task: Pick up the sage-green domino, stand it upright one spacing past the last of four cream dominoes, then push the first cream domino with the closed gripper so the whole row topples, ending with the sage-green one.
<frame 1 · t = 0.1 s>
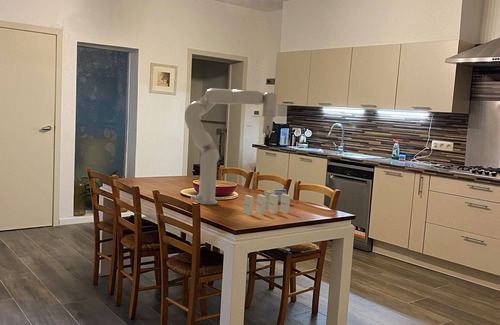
hand: (266, 144, 281), 37 cm above the table, tool pointing down, fingers open, 9 cm apart
medicine box: (278, 203, 304), on the table
domino 5: (267, 208, 283), on the table
domino 1: (247, 214, 264), on the table
domino 4: (284, 212, 276), on the table
domino 3: (272, 212, 272), on the table
domino 2: (260, 213, 268), on the table
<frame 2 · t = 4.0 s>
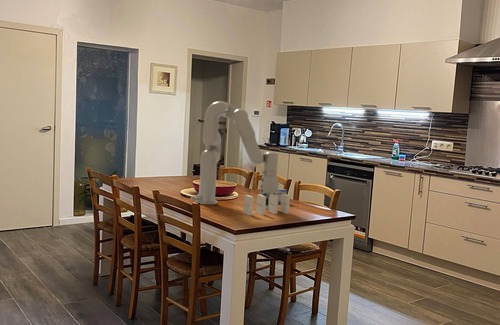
hand: (267, 204, 283), 2 cm above the table, tool pointing down, fingers closed on domino 5, 2 cm apart
domino 5: (267, 208, 283), on the table, touching gripper
everything else where it was.
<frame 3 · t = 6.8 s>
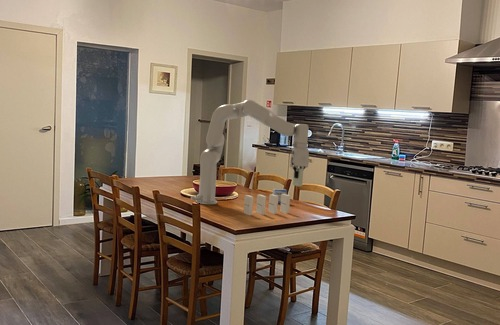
hand: (297, 177, 278), 20 cm above the table, tool pointing down, fingers closed on domino 5
domino 5: (297, 185, 278), point 15 cm above the table, touching gripper
everything else where it was.
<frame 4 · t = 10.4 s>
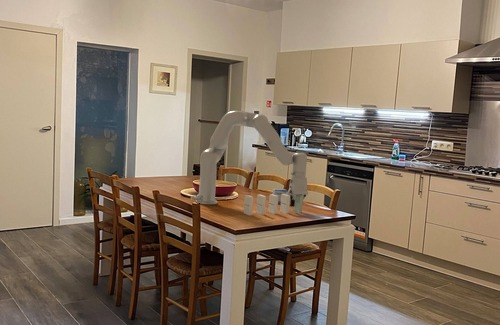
hand: (296, 205, 279), 3 cm above the table, tool pointing down, fingers open, 4 cm apart
domino 5: (297, 211, 280), on the table
everything else where it was.
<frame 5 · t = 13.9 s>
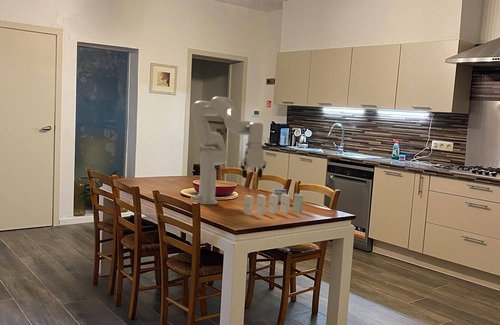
hand: (252, 177, 262), 20 cm above the table, tool pointing down, fingers open, 9 cm apart
nothing on the table moved.
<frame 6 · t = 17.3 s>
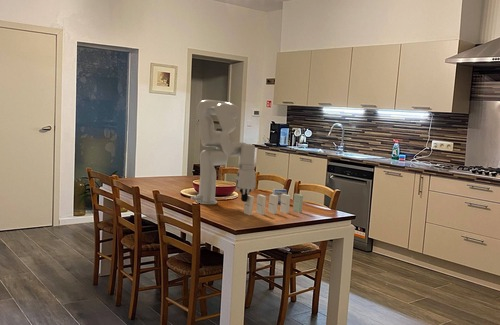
hand: (244, 201, 261), 7 cm above the table, tool pointing down, fingers closed
domino 1: (247, 214, 264), on the table, touching gripper
everything else where it was.
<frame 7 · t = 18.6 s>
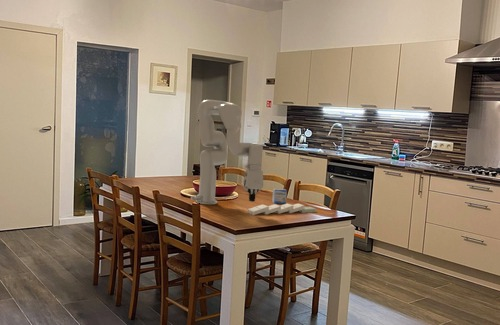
hand: (251, 201, 264), 7 cm above the table, tool pointing down, fingers closed
domino 5: (299, 210, 280), point 1 cm above the table, tilted 90°, touching domino 4
domino 1: (250, 212, 264), point 1 cm above the table, tilted 75°, touching domino 2
domino 4: (286, 210, 277), point 1 cm above the table, tilted 77°, touching domino 3, domino 5
domino 3: (275, 211, 273), point 1 cm above the table, tilted 75°, touching domino 2, domino 4
domino 2: (262, 211, 268), point 1 cm above the table, tilted 76°, touching domino 1, domino 3
everything else where it was.
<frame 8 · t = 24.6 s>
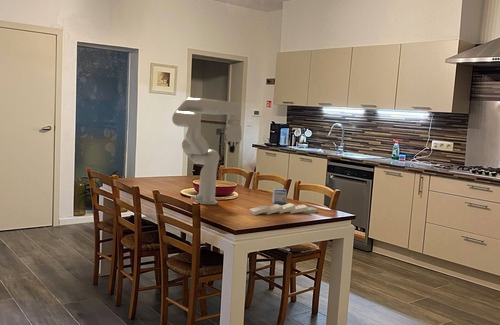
hand: (231, 152, 303), 29 cm above the table, tool pointing down, fingers closed
domino 4: (289, 210, 276), point 1 cm above the table, tilted 78°, touching domino 3, domino 5
domino 3: (277, 210, 273), point 1 cm above the table, tilted 73°, touching domino 2, domino 4
domino 2: (264, 211, 268), point 1 cm above the table, tilted 76°, touching domino 1, domino 3
at the end: domino 5 tilted 89°; domino 5 inside the target area (1.2 cm from its centre), point 0.7 cm above the table; domino 1 tilted 76° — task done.
